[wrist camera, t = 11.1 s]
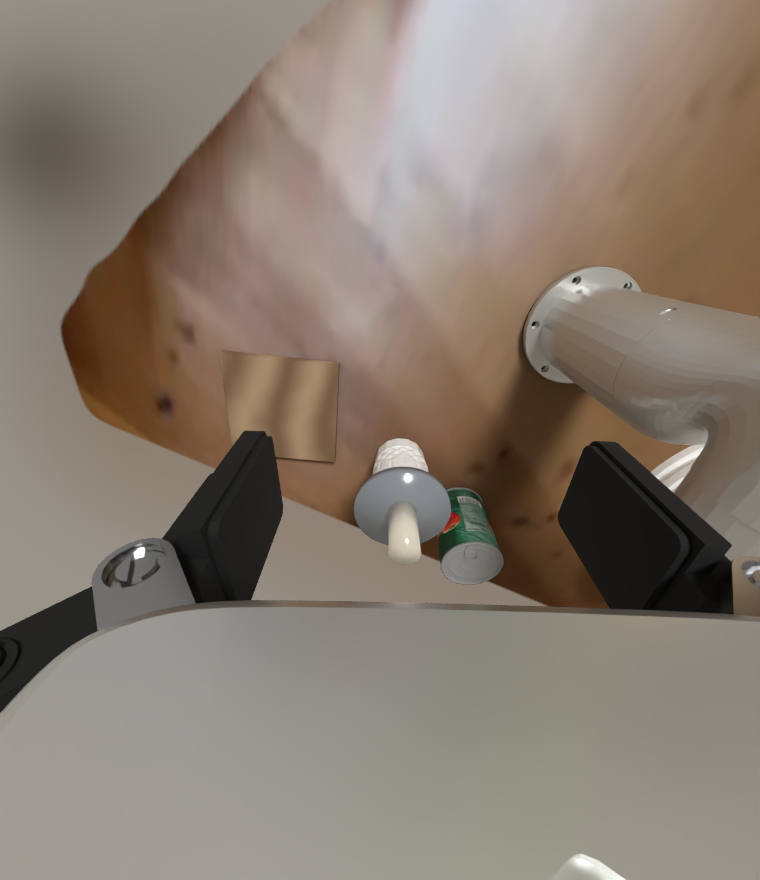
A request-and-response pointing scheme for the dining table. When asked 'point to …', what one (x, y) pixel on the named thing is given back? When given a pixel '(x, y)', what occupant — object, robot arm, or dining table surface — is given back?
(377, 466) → the white cup
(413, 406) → the dining table surface
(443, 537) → the canned tomato
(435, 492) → the lid
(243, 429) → the cork mat
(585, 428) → the dining table surface
